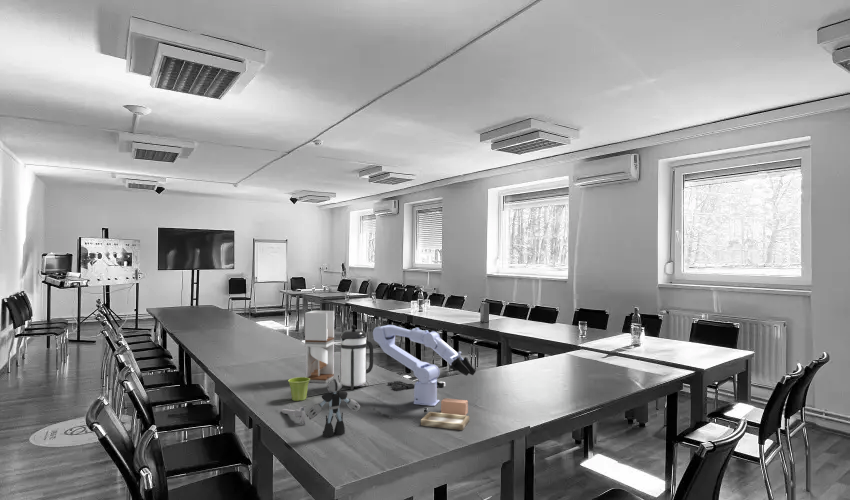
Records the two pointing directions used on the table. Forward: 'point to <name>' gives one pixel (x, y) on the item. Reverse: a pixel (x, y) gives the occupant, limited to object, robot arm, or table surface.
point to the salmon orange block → (454, 406)
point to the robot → (333, 408)
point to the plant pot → (299, 388)
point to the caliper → (296, 414)
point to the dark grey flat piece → (407, 385)
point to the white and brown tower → (319, 345)
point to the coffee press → (354, 358)
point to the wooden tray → (445, 420)
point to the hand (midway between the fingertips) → (471, 373)
